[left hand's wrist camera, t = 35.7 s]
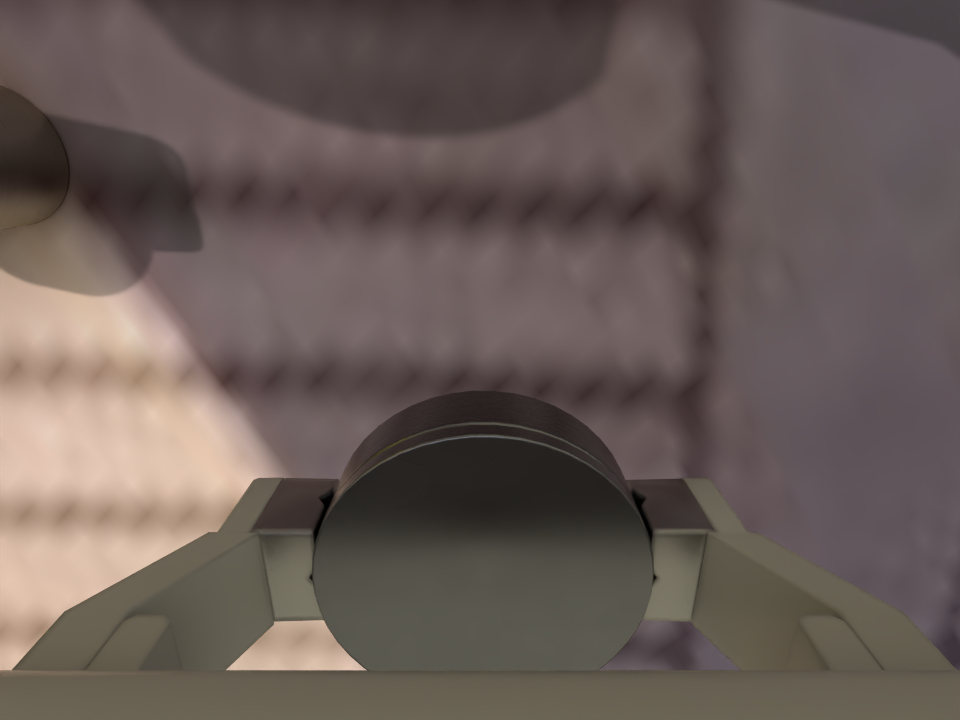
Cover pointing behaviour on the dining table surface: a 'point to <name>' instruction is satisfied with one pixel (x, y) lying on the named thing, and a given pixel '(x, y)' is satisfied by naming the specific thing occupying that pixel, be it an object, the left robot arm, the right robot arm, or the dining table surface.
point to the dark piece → (28, 163)
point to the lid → (482, 542)
